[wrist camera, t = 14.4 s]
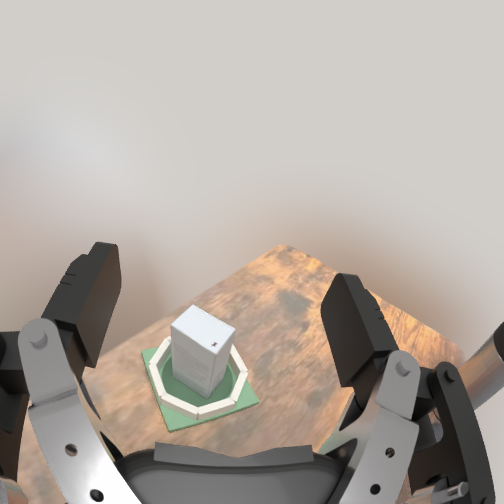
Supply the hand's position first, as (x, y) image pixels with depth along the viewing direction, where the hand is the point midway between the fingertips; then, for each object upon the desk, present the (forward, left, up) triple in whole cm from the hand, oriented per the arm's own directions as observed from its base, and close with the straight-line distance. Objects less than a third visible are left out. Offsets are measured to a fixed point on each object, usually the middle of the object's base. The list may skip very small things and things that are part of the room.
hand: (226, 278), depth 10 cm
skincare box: (-5, -10, -29) cm, 31 cm away
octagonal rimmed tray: (-5, -10, -30) cm, 32 cm away
